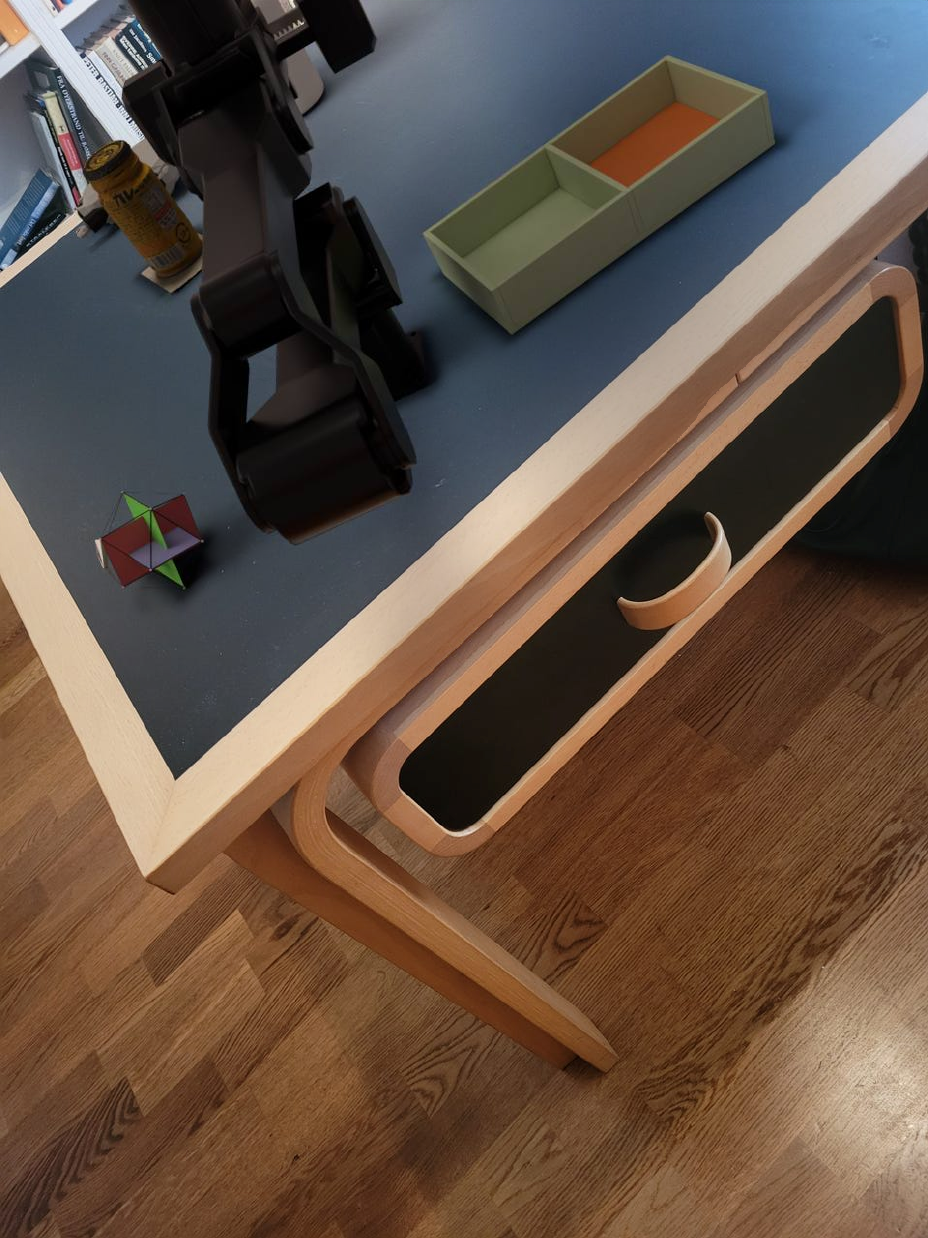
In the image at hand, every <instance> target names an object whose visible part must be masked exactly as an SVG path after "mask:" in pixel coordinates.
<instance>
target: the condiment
mask: <svg viewBox="0 0 928 1238" xmlns="http://www.w3.org/2000/svg"><path fill="white" fill-rule="evenodd" d="M131 148H132V146H131V145H130V143H128V142H127V141H126V140H124V139H116V140H112V141H110V142H107V143H106V144H104V145H103V146H101V147H100V148H98V149H97V150H95V151H94V152H93V153H92V154H91V155H90V156H89V157H88V158H87V159H86V161H85V162H84V164H83V166H82V175H83V177H84V178H85V179H86V180H87V182H89V183H90V184H91V186H92V188H93V189H94V190H95V191H96V192H97V193H98V199H99V202H100V203H101V205H102V206H103V207H104V209H105V210H106V211H107V213H108V214H109V215H110V217H111V218H112V219H113V220H114V221H115V223H114V224H116V226H117V227H118V228H119V229H120V230H121V232H122V233H123V234H124V236H125V237H126V239H127V240H128V241H129V242H130V243H131V245H132V246H133V247H134V248H135V250H136V251H137V252H138V253H139V255H140V256H141V257H142V259H143V260H144V261H145V262H146V264H147V265H148V267H147V268H145V269H144V270H143V271H142V272H141V273H140V275H143V277H145V278H147V279H149V280H150V281H151V282H153V283H154V284H156V285H158V286H159V287H161V288H162V289H164V290H165V291H167V292H168V293H170V294H171V293H173V292H174V291H176V290H177V289H179V288H180V287H181V286H183V285H184V284H185V283H186V282H188V280H190V279H192V278H193V277H194V276H195V275H197V274H198V272H199V271H202V241H203V234H200V233H199V232H198V231H197V230H196V228H195V226H193V224H192V222H191V221H190V219H189V218H188V217H187V215H186V213H185V212H184V211H183V210H182V208H181V207H180V206H179V205H178V203H177V202H176V201H175V199H174V198H173V197H172V194H171V195H170V193H169V192H168V191H167V190H166V189H165V187H164V186H163V184H162V182H161V181H160V180H159V178H158V177H157V176H156V174H155V173H154V171H153V170H152V169H151V167H150V166H149V165H148V164H146V163H143V162H141V161H140V159H139V157H138V155H137V154H135V152H133V150H132V149H131Z"/></svg>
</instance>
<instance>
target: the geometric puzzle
mask: <svg viewBox="0 0 928 1238" xmlns="http://www.w3.org/2000/svg"><path fill="white" fill-rule="evenodd" d="M128 493H131V494H132V493H133V494H139V492H136V491H135V492H134V491H130V492H129V491H127V492H125V490H122V491H121V494H120V496H119V499H118V501H117V502H116V504H117V506H116V508H114V509H113V511H112V513H111V514H110V517H109V519H108V521H107V523H106V526H105V527H107V526H108V524H109V522H110V520H111V518H112V516H113V514H114V516H113V519H112V522H111V525H110V528H109V530H108V533H107V534H105V535H104V533H105V530H106V529H103V532H102V533H101V536H100V537H99V538H94V546H95V554H96V557H97V559H98V562H99V564H100V565H101V567H102V569H103V570H106V571H107V572H108V574H110V576H111V577H112V578H113V579H114V580H115V581H116V582H117V583H118V584H119V585H120V586H121V588H122V589H125V588H126V587H128V586H129V585H131V584H132V583H135V582H137V581H138V580H141V579H142V578H144V577H145V576H147V575H150V574H151V573H154V574H156V575H158V576H160V577H162V578H164V579H166V580H168V581H169V582H171V583H173V584H175V585H177V586H178V587H175V586H174V587H170V586H169V587H165V586H162V587H159V586H158V587H156V586H153V587H152V586H148V587H147V586H143V588H146V589H147V588H149V589H150V588H152V589H153V588H157V589H158V588H159V589H160V588H163V589H164V588H165V589H171V588H173V589H175V588H176V589H181V588H182V589H183V590H185V589H186V584H187V582H188V580H189V577H190V574H191V572H192V570H193V567H194V565H195V562H196V560H197V557H198V555H199V552H200V550H201V547H202V545H203V544H204V542H205V541H204V540H203V539H202V536H201V534H200V531H199V528H198V526H197V524H196V520H195V518H194V515H193V513H192V510H191V508H190V506H189V502H188V500H187V498H186V493H185V492H182V493H181V494H179V495H177V496H175V497H173V498H171V499H168V500H166V501H164V502H162V503H160V504H157V505H155V506H153V507H149V506H147V505H146V504H145V503H143V502H141V501H139V500H138V499H136V498H134V497H133V496H131V495H129V494H128ZM158 494H159V495H160V494H161V495H169V492H168V493H167V492H165V493H163V492H158ZM122 495H123V496H124V500H125V501H126V504H127V507H128V508H129V510H130V513H131V514H132V517H133V518H132V519H130V520H129V521H127V522H125V523H123V524H122V525H120V526H119V527H117V528H115V529H113V530H112V531H111V529H112V527H113V523H114V520H115V517H116V514H117V511H118V508H119V505H120V502H121V499H122ZM115 509H116V510H115ZM114 511H115V513H114ZM197 547H198V549H197V552H196V555H195V557H194V560H193V563H192V564H191V568H190V570H189V573H188V575H187V577H186V581H185V583H183V581H182V580H181V577H180V574H179V572H178V570H177V567H176V564H175V563H174V561H173V560H176V559H177V558H179V557H181V556H182V555H184V554H186V553H188V552H190V551H191V550H193V549H194V548H197ZM108 558H109V561H110V563H111V565H112V567H113V569H114V571H115V573H116V575H117V577H116V576H115V574H114V573H113V572H112V571H111V569H110V568H109V561H108ZM117 578H118V579H119V580H118V579H117Z"/></svg>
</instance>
